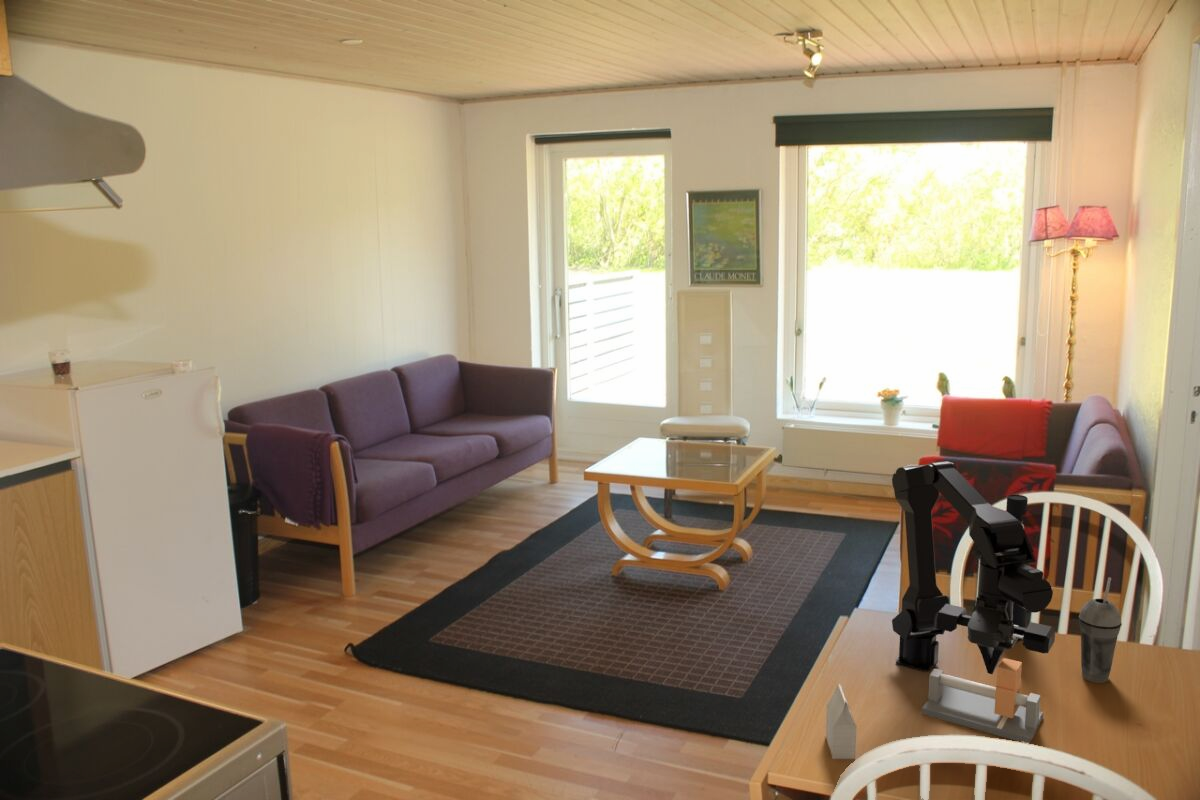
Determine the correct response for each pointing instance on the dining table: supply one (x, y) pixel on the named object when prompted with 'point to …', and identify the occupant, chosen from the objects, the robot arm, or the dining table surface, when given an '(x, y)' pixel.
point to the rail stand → (980, 707)
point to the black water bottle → (1017, 509)
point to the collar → (1007, 687)
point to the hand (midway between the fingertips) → (990, 673)
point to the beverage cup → (1098, 637)
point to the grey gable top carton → (840, 727)
